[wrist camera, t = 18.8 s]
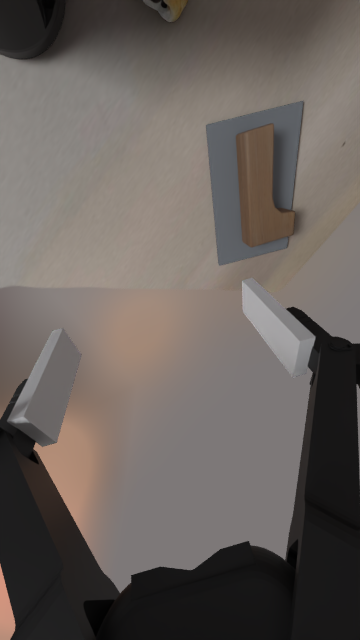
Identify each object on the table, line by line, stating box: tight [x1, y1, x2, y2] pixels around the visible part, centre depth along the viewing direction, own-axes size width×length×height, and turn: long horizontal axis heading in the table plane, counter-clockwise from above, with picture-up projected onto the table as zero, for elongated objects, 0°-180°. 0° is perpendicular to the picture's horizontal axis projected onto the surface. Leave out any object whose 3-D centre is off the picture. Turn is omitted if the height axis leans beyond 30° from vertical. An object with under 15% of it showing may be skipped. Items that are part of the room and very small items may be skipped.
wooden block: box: [236, 123, 295, 247], centre depth 38 cm, size 9×4×18 cm
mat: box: [206, 101, 303, 266], centre depth 41 cm, size 24×16×1 cm, turn 11°
